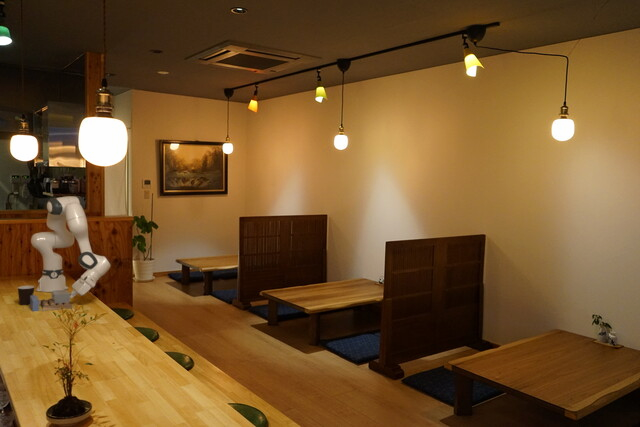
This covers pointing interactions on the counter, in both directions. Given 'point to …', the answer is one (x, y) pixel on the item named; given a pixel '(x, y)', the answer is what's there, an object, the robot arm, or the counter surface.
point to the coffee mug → (25, 294)
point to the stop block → (34, 303)
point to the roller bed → (53, 305)
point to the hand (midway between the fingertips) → (70, 296)
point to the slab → (60, 296)
